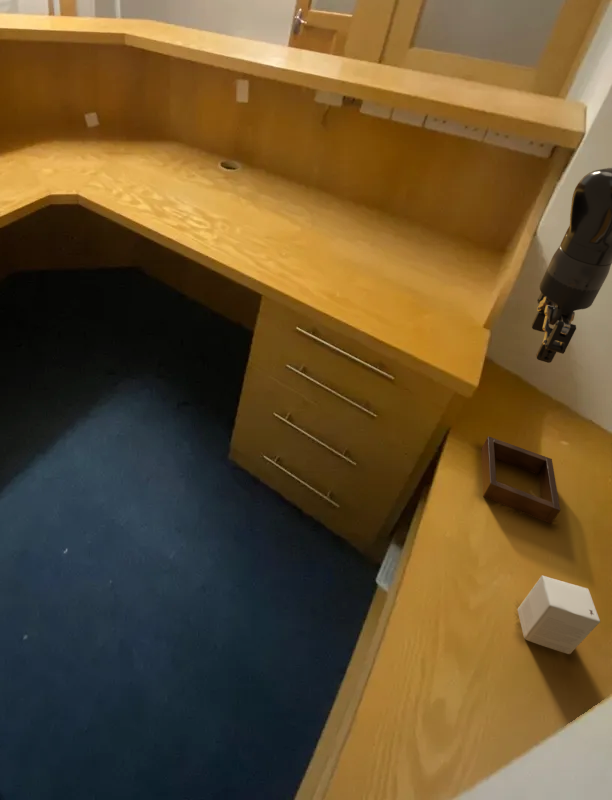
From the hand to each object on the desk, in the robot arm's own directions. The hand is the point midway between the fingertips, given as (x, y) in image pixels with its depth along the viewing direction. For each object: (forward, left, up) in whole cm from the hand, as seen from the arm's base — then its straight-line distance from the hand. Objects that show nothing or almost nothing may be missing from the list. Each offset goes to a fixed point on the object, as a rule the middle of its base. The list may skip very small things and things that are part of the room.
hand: (540, 344), depth 93 cm
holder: (-2, +12, -26) cm, 29 cm away
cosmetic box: (-4, +36, -26) cm, 45 cm away
